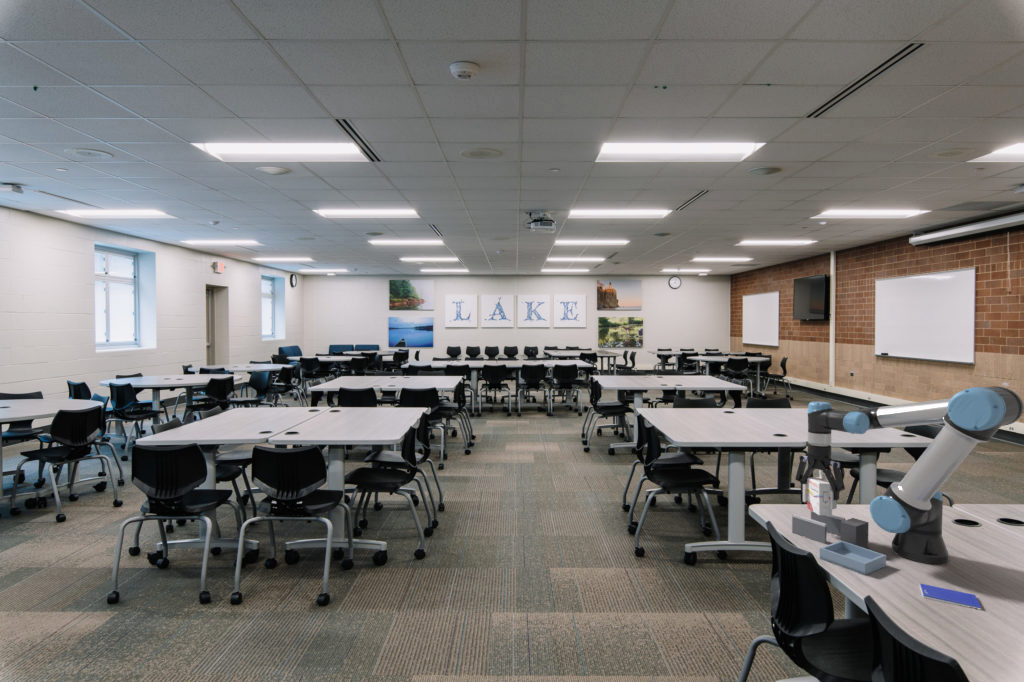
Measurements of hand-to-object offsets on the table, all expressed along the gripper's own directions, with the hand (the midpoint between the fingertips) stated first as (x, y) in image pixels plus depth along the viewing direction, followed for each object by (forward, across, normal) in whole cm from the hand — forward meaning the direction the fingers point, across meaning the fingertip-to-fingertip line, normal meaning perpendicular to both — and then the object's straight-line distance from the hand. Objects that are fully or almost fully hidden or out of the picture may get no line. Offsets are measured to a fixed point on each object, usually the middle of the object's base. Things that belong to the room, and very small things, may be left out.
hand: (819, 504), depth 194 cm
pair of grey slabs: (+11, 0, 0) cm, 11 cm away
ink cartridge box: (+3, 0, 0) cm, 3 cm away
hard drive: (+12, -44, +14) cm, 48 cm away
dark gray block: (+11, -13, +1) cm, 17 cm away
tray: (+11, -19, +14) cm, 26 cm away
